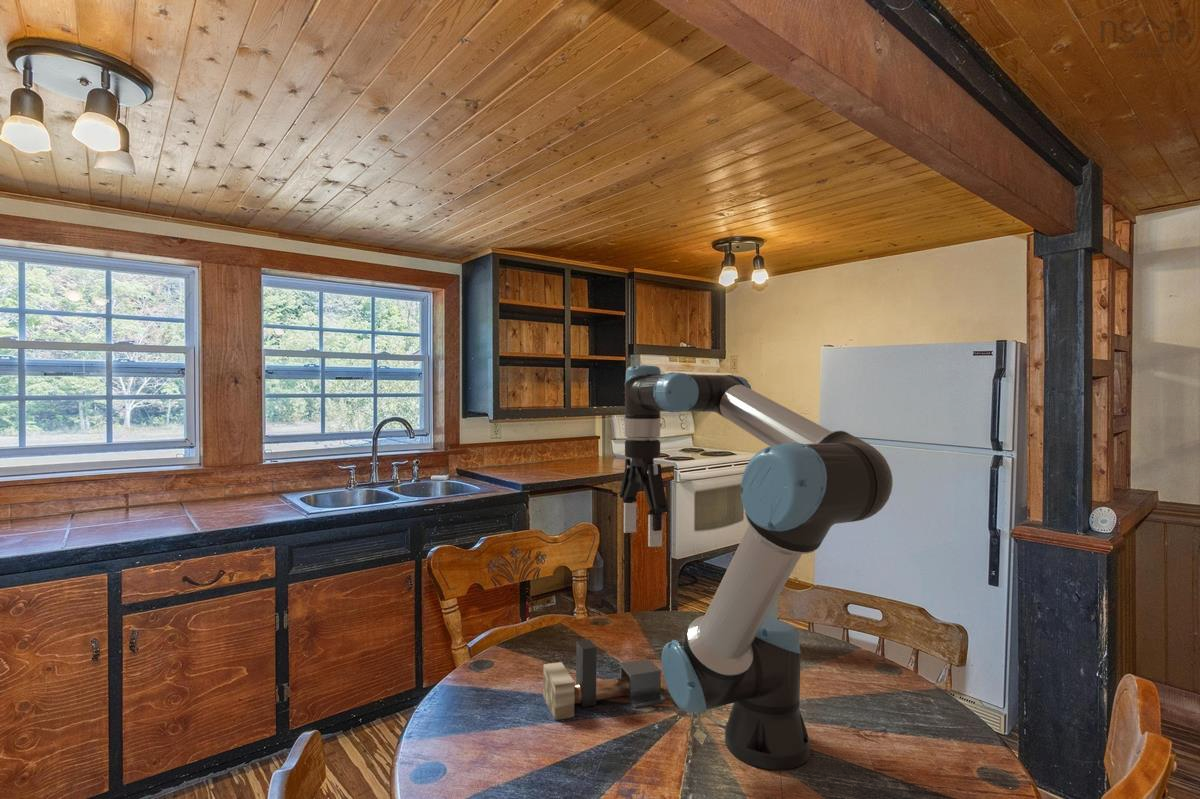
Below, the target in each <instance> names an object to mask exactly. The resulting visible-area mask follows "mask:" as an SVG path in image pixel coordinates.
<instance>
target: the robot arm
mask: <svg viewBox="0 0 1200 799" xmlns="http://www.w3.org/2000/svg"><path fill="white" fill-rule="evenodd" d="M661 372H662V371H661V368H660V367H659V366H657V365H631V366H628V367H627V368H626V370H625V380H624V414H625V415H624V417H625V418H624V437H625V438H627V439H625V441H624V456H625V457H626V459H625V461H624V471H623V476H622V481H621V482H622V483H621V487H620V492H619V497H620V499H622V502H623V533H624V534H628V533H629V534H631V533H637V502H638V498H637V495H638V493H639V490H640V488H641V487H643V491H644V494H645V497H646V498H645V499H646V501H647V504H648V508H649V510H648V512H647V513H646V514H647V515H648V518H647V520H648V523H647V525H648V534H647V535H648V536H647V540H648V541H647V546H648V547H649V548H652V547H654V548H655V547H656V548H657V547H662V546H663V515H664V514H665V513H668V512H669V508H668V501H667V496H666V492H665V487H664V481H663V476H662V475H663V474H662V465H661V464H660V463H655V462H654V460H655V459H658V458H659V457H660V456H661V440H659V439H658V438H660V437H661V428H662V426H663V425H662V423H661V412H668V413H682V412H688V413H689V412H703V413H704V412H707V413H709V412H710V413H712V412H713V413H717V414H718V415H720V416H721V417H723V418H725V419H726V420H728V421H730V422H731V423H733V424H734V425H736V426H737V427H739V428H741V429H742V430H744V431H745V432H747V433H749V434H750V435H751V436H753V437H754V438H756V439H758V440H759V441H761V442H762V443H764V444H765V445H767V447H765V448H763V449H761V450H760V451H758V452H757V453H755V454H754V455H753V456H752V457H751V459H750V460H749V462H748V463H747V465H746V467H745V468H744V471H743V474H742V478H741V481H740V487H741V488H742V489H743V492H742V493H741V494H740V497H741V498H740V499H741V502H742V507H743V509H744V515H745V519H746V521H747V524H748V526H747V527H746V530H745V531H744V534H743V536H742V538H741V540H740V542H739V544H738V546H737V549H736V550H735V552H734V555H733V557H732V559H731V561H730V563H729V565H728V567H727V569H726V571H725V573H724V575H723V577H722V579H721V582H720V583H719V585H718V587H717V590H716V592H715V594H714V595H713V597H712V600H711V602H710V603H709V606H708V608H707V610H706V612H705V614H704V615H701V616H698V617H696V618H695V619H694V620H693V621H692V622H690V624H689V625H688V628H687V630H686V632H685V635H684V636H683V637H682V638H681V639H679V640H677V639H672V640H671V641H669V642H667V643H666V644H665V645H664V646H663V649H662V652H661V669H662V670H661V671H662V673H663V679H664V681H665V682H664V683H665V685H666V687H667V690H668V692H669V695H670V696H671V699H672V700H673V702H674V703H675V704H676V705H677V707H678V708H679V709H680V710H682V711H683V712H685V713H687V714H694V713H698V712H700V713H701V712H702V713H703V712H704V713H705V712H706V711H708V710H712V709H717V708H719V707H722V706H723V707H724V706H727V705H730V704H732V706H731V709H730V714H729V716H728V719H727V722H726V724H725V728H724V743H725V745H726V748H727V749H728V751H729V752H730V753H731V754H732V755H733V756H734V757H735V758H737V759H739V760H740V761H742V762H743V763H746V764H749V765H752V766H754V767H758V768H761V769H766V770H774V771H775V770H776V771H782V770H783V771H784V770H791V769H795V768H797V767H800V766H802V765H803V764H805V763H806V762H807V761H808V760H809V758H810V755H811V754H810V751H811V750H810V748H811V747H810V737H809V733H808V731H807V728H806V725H805V721H804V719H803V718H804V717H803V715H802V711H801V709H800V706H801V705H800V704H801V703H800V702H801V699H800V694H801V693H800V692H801V691H800V690H801V654H802V651H801V646H800V643H801V642H800V634H799V632H798V631H797V629H796V628H795V627H794V626H793V625H791V624H790V623H788V622H786V621H784V620H781V619H775V618H771V617H767V615H768V614H769V612H770V610H771V608H772V607H773V605H774V603H775V601H776V600H777V598H778V599H779V596H780V594H781V592H782V591H783V588H784V587H785V586H786V583H787V581H788V580H789V578H790V576H791V575H792V573H793V571H794V570H795V567H796V566H797V564H798V562H799V560H800V558H801V557H802V556H803V555H806V554H807V555H808V554H810V553H814V552H815V551H817V550H819V548H820V546H821V545H822V542H823V541H824V539H825V538H826V536H827V535H828V533H829V531H830V530H831V528H832V526H834V525H836V524H845V523H853V522H854V523H855V522H859V521H863V520H867V519H869V518H871V517H873V516H875V515H876V514H878V512H880V511H881V510H882V509H883V507H885V505H886V504H887V502H888V501H889V499H890V496H891V495H892V494H891V493H892V490H893V484H894V483H893V481H894V480H893V474H892V470H891V467H890V465H889V463H888V461H887V459H886V458H885V457H884V455H883V454H882V453H881V452H880V451H879V450H878V449H877V448H876V447H874V446H872V445H871V444H870V443H868V442H866V441H864V440H862V439H861V438H859V437H858V436H857V437H856V436H854V435H852V434H851V433H849V432H847V431H844V430H834V431H832V430H830V429H827V428H825V427H824V426H821V425H820V424H818V423H816V422H814V421H812V420H810V419H809V418H807V417H804V416H802V415H801V414H798V413H797V412H795V411H793V410H791V409H790V408H788V407H785V406H784V405H781V404H780V403H778V402H776V401H775V400H772V399H770V398H769V397H767V396H765V395H762V394H761V393H759V392H757V391H755V390H753V389H752V386H751V384H750V383H749V381H748V380H747V379H746V378H745V377H743V376H739V375H732V374H691V373H685V372H668V373H661Z"/></svg>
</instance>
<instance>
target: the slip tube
mask: <svg viewBox="0 0 1200 799" xmlns="http://www.w3.org/2000/svg"><path fill="white" fill-rule="evenodd" d="M575 642H576V643H575V644H576V646H575V647H576V648H575V649H576V650H575V651H576V652H575V654H576V655H575V656H576V658H575V660H576V661H575V666H576V668H575V688H574V705H575V704H580V705H581V707H582V708H585V707H591V706H596V705H597V701H599V700H604V699H605V700H606V699H612V698H618V697H622V696H630V677H629V676H627V677H621V678H620V677H615V678H609V679H603V680H597V647H596V645H595V644H594V642H593V641H592V640H591V639H590V638H588V639H580V640H576V641H575Z"/></svg>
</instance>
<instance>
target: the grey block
mask: <svg viewBox="0 0 1200 799" xmlns="http://www.w3.org/2000/svg"><path fill="white" fill-rule="evenodd" d="M619 664H620V665H619V668H620V669H619V672H620V673H619V678H621V677H627V676H629V677H630V695H629V702H630V704H631V705H632V707H634V709H635V708H637V709H638V708H641V707H643V708H644V707H648V706H653V705H654V704H655V705H661V704H665V703H666V698H665V697H664V696H663V694H661V693H662V690H661V689H662V688H661V685H662V682H661V681H662V670H661V669H660V668H659V667H658V666H657V665H656V664H655V663H654V662H653V661H652V660H651V659H650V658H646V659H640V660H639V659H638V660H632V661H627V662H625V661H623V662H620V663H619ZM660 703H661V704H660Z"/></svg>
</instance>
